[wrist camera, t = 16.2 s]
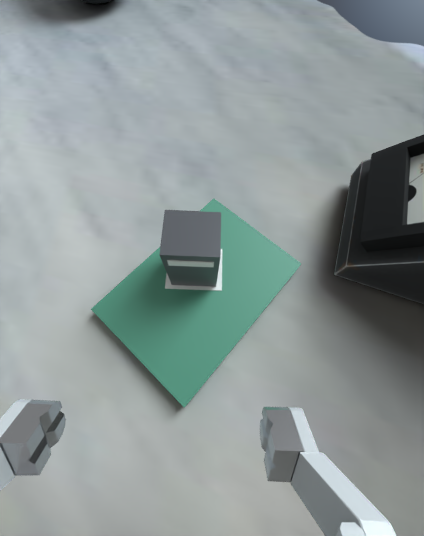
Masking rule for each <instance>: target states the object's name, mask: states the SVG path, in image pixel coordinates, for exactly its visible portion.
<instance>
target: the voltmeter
mask: <svg viewBox="0 0 424 536" xmlns="http://www.w3.org/2000/svg"><path fill="white" fill-rule="evenodd" d="M334 275H337V276H340V277H343V278H346V279H349V280H352V281H355V282H358V283H361V284H364V285H367V286H370V287H373V288H376V289H379V290H382V291H385V292H388V293H391V294H395V295H398V296H401V297H404V298H407V299H410V300H413V301H416V302H419V303H422V304H424V135H422V136H419V137H416V138H413V139H410V140H407V141H405V142H402V143H399V144H397V145H394V146H391V147H389V148H386V149H384V150H381V151H378V152H376V153H373V154H372V156H371V159H368V160H365V161H363V162H361V164H360V165H359V166H358V168H357V169H356V170H355V171H354V173H353V174H352V175H351V180H350V186H349V191H348V197H347V203H346V209H345V214H344V220H343V226H342V232H341V238H340V243H339V249H338V255H337V261H336V267H335V273H334Z"/></svg>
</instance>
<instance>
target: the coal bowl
mask: <svg viewBox="0 0 424 536" xmlns="http://www.w3.org/2000/svg"><path fill="white" fill-rule="evenodd" d="M82 1H84V2H88V3H93V4H101V3H106V2H109V1H111V0H82Z"/></svg>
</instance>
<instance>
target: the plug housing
mask: <svg viewBox="0 0 424 536" xmlns="http://www.w3.org/2000/svg"><path fill="white" fill-rule="evenodd" d="M159 255H160V258H161V260H162V262H163V265H164V267H165V270H166V272H167V274H168V277H169V279H170V282H171V284H172V285H185V286H211V287H216V284H217V277H218V270H219V264H220V255H221V212H202V211H179V210H165V214H164V222H163V230H162V238H161V246H160V254H159Z"/></svg>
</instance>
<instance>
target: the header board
mask: <svg viewBox="0 0 424 536" xmlns="http://www.w3.org/2000/svg"><path fill="white" fill-rule="evenodd" d="M200 211H202V212H221V255H220V264H219V270H218V277H217V284H216V287H211V286H185V285H172V284H171V282H170V279H169V277H168V274H167V272H166V270H165V267H164V265H163V262H162V260H161V258H160V255H159V254H160V247H159V248H158V249H157V250H156V251H155V252H154V253H153V254H152V255H151V256H149V257H148V258H147V259H146V260H145V261H144V262H143V263H142V264H141V265H139V266H138V267H137V268H136V269H135V270H134V271H133V272H132V273H131V274H129V275H128V276H127V277H126V278H125V279H124V280H123V281H122V282H121V283H119V284H118V285H117V286H116V287H115V288H114V289H113V290H112V291H111V292H110V293H108V294H107V295H106V296H105V297H104V298H103V299H102V300H101V301H100V302H98V303H97V304H96V305H95V306H94V307H93V308H92V309H91V310H92V311H93V312H94V313H95V314H96V315H97V316H98V317H99V318H100V319H101V320H102V321H103V322H104V323H105V325H106V326H107V327H108V328H109V329H110V330H111V331H112V332H113V333H114V334H115V335H116V336H117V337H118V338H119V339H120V340H121V341H122V343H123V344H124V345H125V346H126V347H127V348H128V349H129V350H130V351H131V352H132V353H133V354H134V355H135V356H136V357H137V358H138V359H139V360H140V362H141V363H142V364H143V365H144V366H145V367H146V368H147V369H148V370H149V371H150V372H151V373H152V374H153V375H154V376H155V377H156V378H157V379H158V381H159V382H160V383H161V384H162V385H163V386H164V387H165V388H166V389H167V390H168V391H169V392H170V393H171V394H172V395H173V396H174V397H175V398H176V400H177V401H178V402H179V403H180V404H181V405H182V406H183V407H185V406H186V405H187V404H188V403H189V401H190V400H191V399H192V398H193V396H194V395H195V394H196V393H197V392H198V390H199V389H200V388H201V387H202V385H203V384H204V383H205V382H206V380H207V379H208V378H209V377H210V376H211V374H212V373H213V372H214V371H215V369H216V368H217V367H218V366H219V364H220V363H221V362H222V361H223V360H224V358H225V357H226V356H227V355H228V353H229V352H230V351H231V350H232V349H233V347H234V346H235V345H236V344H237V342H238V341H239V340H240V339H241V337H242V336H243V335H244V334H245V333H246V331H247V330H248V329H249V328H250V326H251V325H252V324H253V323H254V321H255V320H256V319H257V318H258V317H259V315H260V314H261V313H262V312H263V310H264V309H265V308H266V307H267V306H268V304H269V303H270V302H271V301H272V299H273V298H274V297H275V296H276V294H277V293H278V292H279V291H280V290H281V288H282V287H283V286H284V285H285V283H286V282H287V281H288V280H289V278H290V277H291V276H292V275H293V274H294V272H295V271H296V270H297V269H298V267H299V266H300V265H301V263H300V262H298V261H297V260H296V259H294V258H293V257H292V256H290V255H289V254H288V253H286V252H285V251H284V250H282V249H281V248H280V247H278V246H277V245H276V244H274V243H273V242H271V241H270V240H269V239H267V238H266V237H265V236H263V235H262V234H261V233H259V232H258V231H257V230H255V229H254V228H253V227H251V226H250V225H249V224H247V223H246V222H245V221H243V220H242V219H241V218H239V217H238V216H237V215H235V214H234V213H233V212H231V211H230V210H229V209H227V208H226V207H225V206H223V205H222V204H221V203H219V202H218V201H217V200H215V199H213V200H212V201H210V202H209V203H208V204H207V205H206V206H205V207H204V208H203V209H202V210H200Z"/></svg>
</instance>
